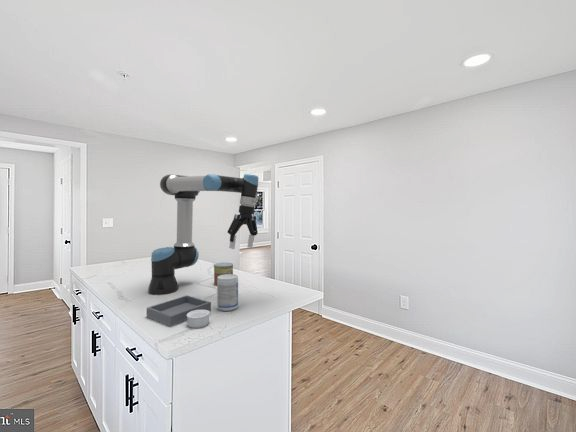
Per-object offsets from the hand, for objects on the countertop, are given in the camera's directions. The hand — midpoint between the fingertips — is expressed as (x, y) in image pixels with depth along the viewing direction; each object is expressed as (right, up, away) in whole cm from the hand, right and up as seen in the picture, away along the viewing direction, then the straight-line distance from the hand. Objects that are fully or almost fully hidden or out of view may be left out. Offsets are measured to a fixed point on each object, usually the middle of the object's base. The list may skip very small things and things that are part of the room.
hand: (241, 248), depth 139 cm
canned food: (-16, -25, +30) cm, 43 cm away
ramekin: (-13, -28, -27) cm, 41 cm away
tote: (-24, -27, -17) cm, 40 cm away
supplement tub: (-5, -27, -9) cm, 29 cm away
